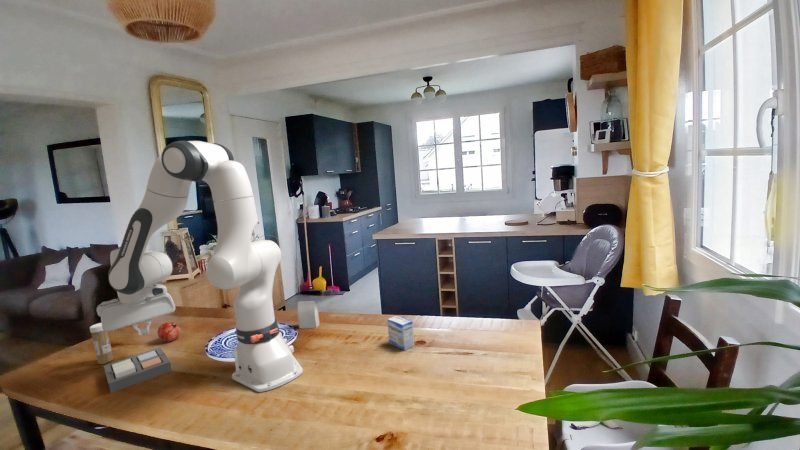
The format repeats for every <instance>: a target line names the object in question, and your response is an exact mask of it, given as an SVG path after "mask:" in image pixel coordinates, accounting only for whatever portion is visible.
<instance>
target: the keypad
mask: <svg viewBox="0 0 800 450" xmlns="http://www.w3.org/2000/svg"><path fill="white" fill-rule="evenodd" d="M152 351H155V352H156V353H157V355H158V356H156V357H153V358H150V359H147V360H144V361H141V362H139V361H138V357H137V356H139V355H142V354H145V353H148V352H152ZM157 357H159V358H160V360H161V361H162V363H160V364H157V365H154V366H152V367H149V368H146V369H143V370H142V366H141V363H142V362H145V361H148V360H151V359H154V358H157ZM127 359H131V361H132V362H133V364H134V366H135V369H136V372H135V373H132V374H129V375H126V376H123V377H120V378H118V379H116V377H115V373H114V371H113V368H112V364H115V363H118V362H121V361H124V360H127ZM103 368H104V373H105V377H106V381H107V385H108V388H109V391H110V394H112V393H115V392H118V391H121V390H123V389H126V388H129V387H131V386H134V385H137V384H140V383H143V382H144V381H148V380H151V379H154V378H156V377H159V376H161V375H164V374H167V373H169V372H172V371H173V369H172V363H171V361H170V359H169V358H168V356H167V355H166V353H165V352H164V350H163V349H162V347H156V348H153V349H150V350H148V351H145V352H142V353H138V354H134V355H132V356H130V357H126V358H123V359H120V360H117V361H113V362H111V363H106V364H105V365H104V364H103ZM158 375H159V376H158Z"/></svg>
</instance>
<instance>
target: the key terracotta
mask: <svg viewBox="0 0 800 450" xmlns="http://www.w3.org/2000/svg"><path fill="white" fill-rule="evenodd" d="M160 363H162V361H161V360H160V358H159V357H157V358H154V359H151V360H148V361H145V362H142V363H141V366H142V370H143V369H146V368H149V367H152V366H154V365H157V364H160Z"/></svg>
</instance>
